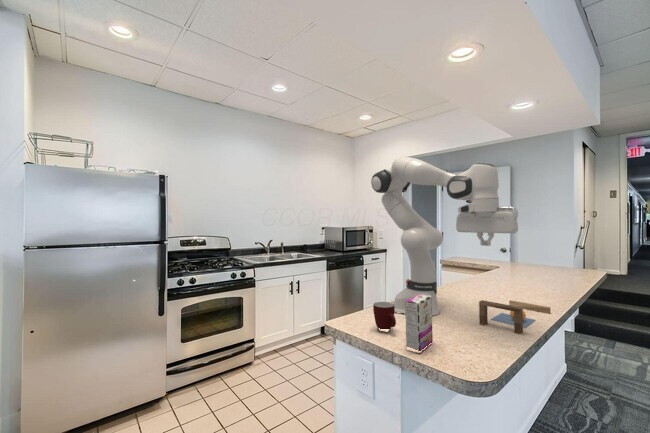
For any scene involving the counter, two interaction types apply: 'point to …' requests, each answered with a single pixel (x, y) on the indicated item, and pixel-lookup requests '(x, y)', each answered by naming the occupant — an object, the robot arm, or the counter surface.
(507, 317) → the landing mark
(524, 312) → the ball
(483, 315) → the bridge
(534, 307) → the wall
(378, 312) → the mug
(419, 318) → the candy bar box
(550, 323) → the counter surface
